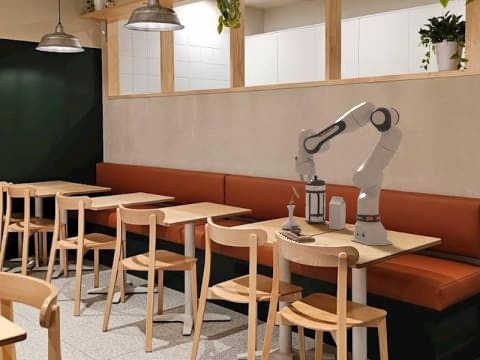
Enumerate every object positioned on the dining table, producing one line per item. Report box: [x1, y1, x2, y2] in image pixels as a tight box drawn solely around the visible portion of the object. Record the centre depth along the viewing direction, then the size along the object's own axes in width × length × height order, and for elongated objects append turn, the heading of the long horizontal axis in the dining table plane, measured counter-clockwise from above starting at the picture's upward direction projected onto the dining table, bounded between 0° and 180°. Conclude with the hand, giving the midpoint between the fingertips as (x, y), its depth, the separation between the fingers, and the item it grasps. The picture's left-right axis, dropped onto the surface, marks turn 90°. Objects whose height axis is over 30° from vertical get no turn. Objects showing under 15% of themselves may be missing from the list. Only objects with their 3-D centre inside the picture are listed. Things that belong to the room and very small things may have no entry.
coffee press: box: [304, 174, 327, 225], centre depth 371 cm, size 17×16×30 cm
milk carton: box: [328, 195, 347, 230], centre depth 353 cm, size 7×7×19 cm
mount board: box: [278, 229, 316, 243], centre depth 325 cm, size 22×12×4 cm, turn 17°
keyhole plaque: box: [286, 225, 312, 240], centre depth 323 cm, size 17×7×5 cm, turn 17°
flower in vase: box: [281, 186, 301, 230], centre depth 352 cm, size 13×11×25 cm
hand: (305, 182), depth 336 cm, fingers open, 8 cm apart
